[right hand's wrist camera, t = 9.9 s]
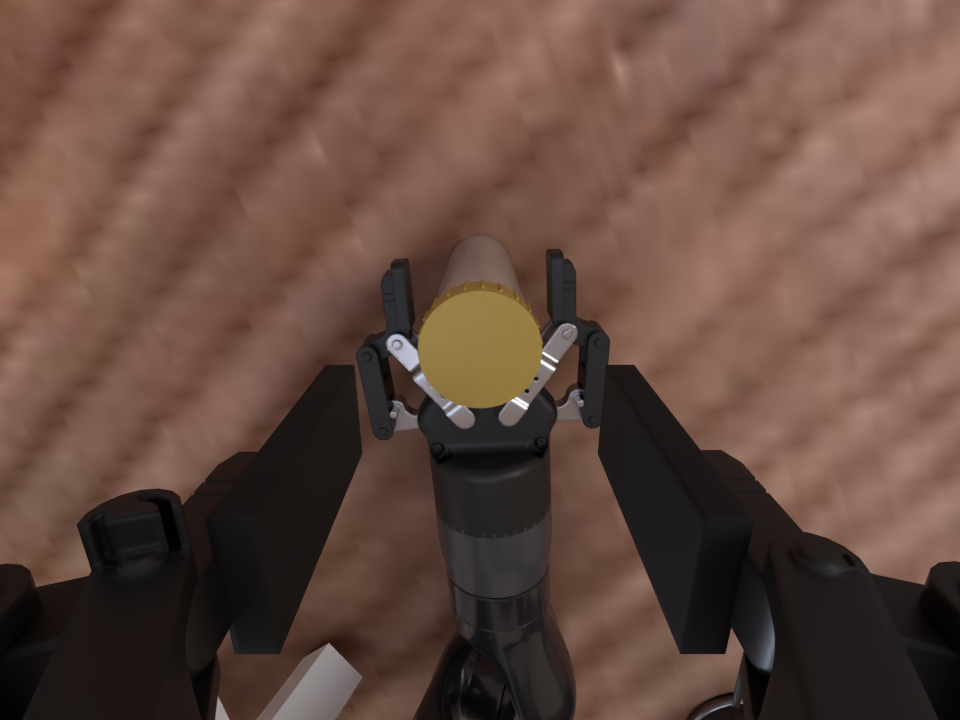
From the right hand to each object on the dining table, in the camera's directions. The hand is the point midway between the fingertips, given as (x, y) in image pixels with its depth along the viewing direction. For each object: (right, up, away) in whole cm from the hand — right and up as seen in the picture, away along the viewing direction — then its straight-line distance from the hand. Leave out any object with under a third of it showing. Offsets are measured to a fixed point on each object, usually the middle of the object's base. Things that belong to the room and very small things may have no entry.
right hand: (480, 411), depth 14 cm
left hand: (0, +7, +14) cm, 16 cm away
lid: (0, +2, +5) cm, 5 cm away
